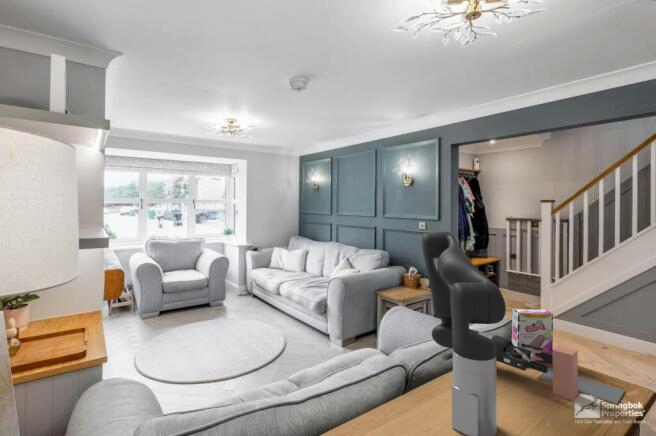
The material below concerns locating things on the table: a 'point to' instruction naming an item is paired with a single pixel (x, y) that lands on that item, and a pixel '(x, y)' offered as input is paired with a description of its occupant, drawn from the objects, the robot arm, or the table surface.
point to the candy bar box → (533, 329)
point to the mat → (591, 388)
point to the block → (565, 372)
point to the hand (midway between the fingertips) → (552, 364)
